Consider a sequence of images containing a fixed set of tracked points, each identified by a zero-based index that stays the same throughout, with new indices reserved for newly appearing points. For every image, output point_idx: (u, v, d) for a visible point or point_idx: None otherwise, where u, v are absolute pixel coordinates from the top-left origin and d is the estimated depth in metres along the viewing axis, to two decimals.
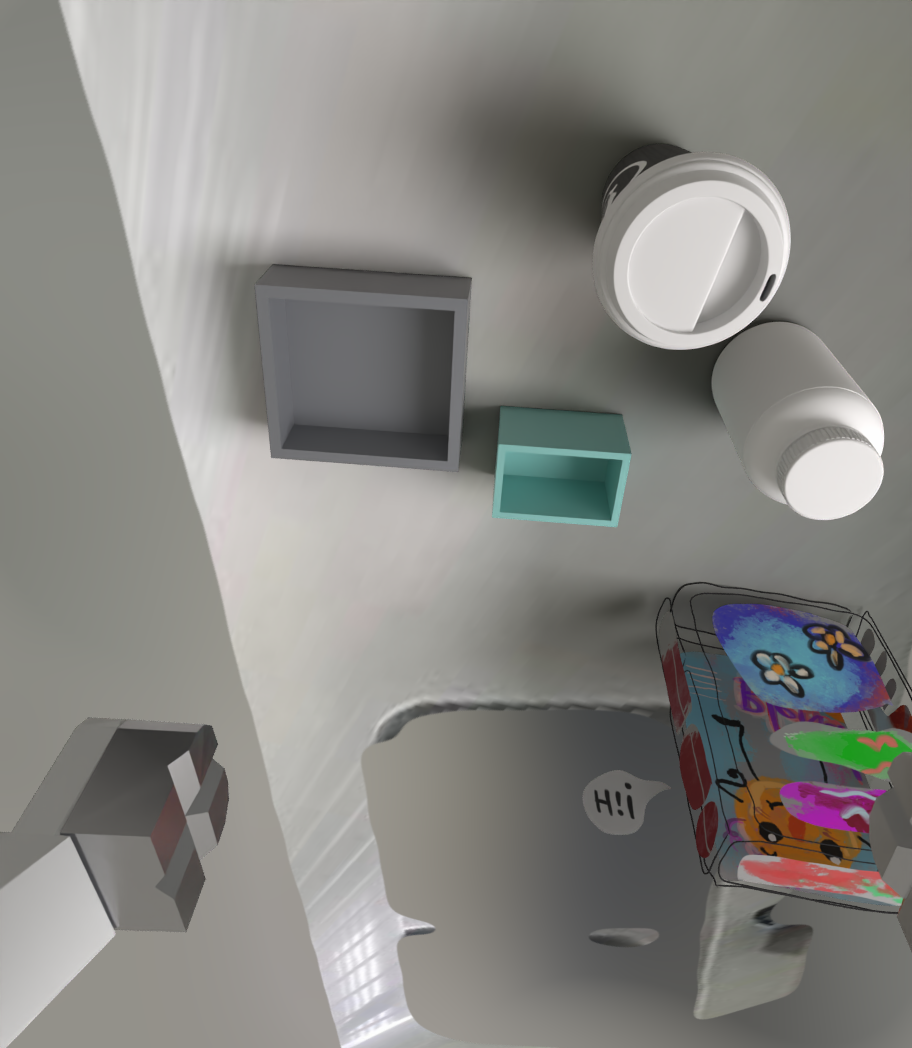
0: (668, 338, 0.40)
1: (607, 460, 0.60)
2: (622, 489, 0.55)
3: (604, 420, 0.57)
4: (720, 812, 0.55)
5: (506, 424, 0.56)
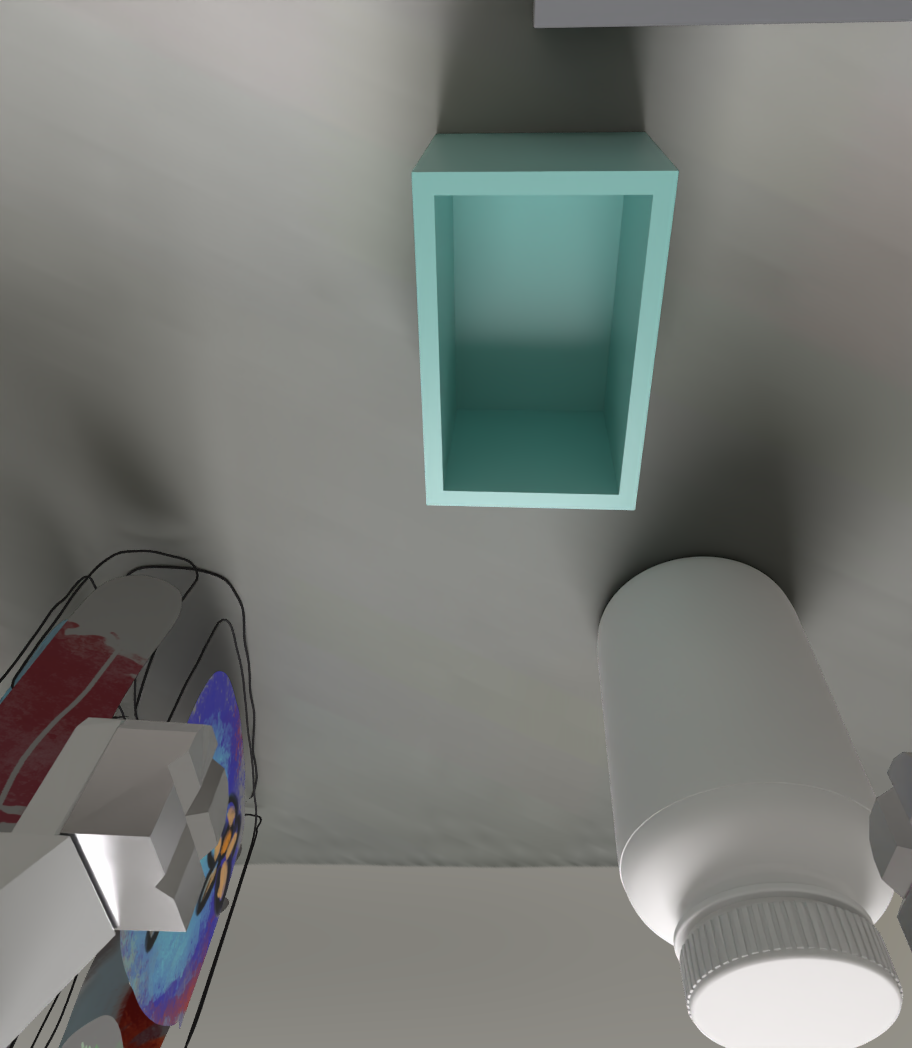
0: None
1: (512, 408, 0.27)
2: (535, 503, 0.23)
3: None
4: None
5: None
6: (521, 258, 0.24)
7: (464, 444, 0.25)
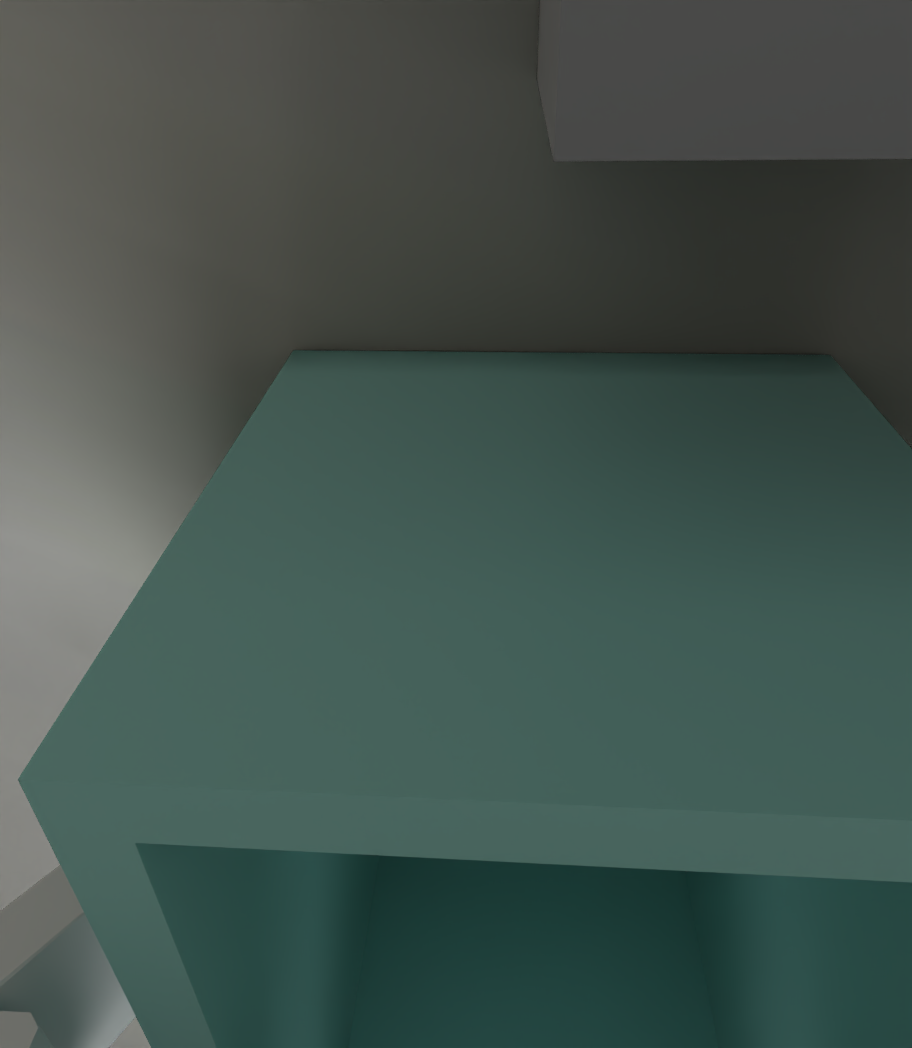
0: None
1: None
2: None
3: None
4: None
5: None
6: None
7: (384, 1010, 0.11)
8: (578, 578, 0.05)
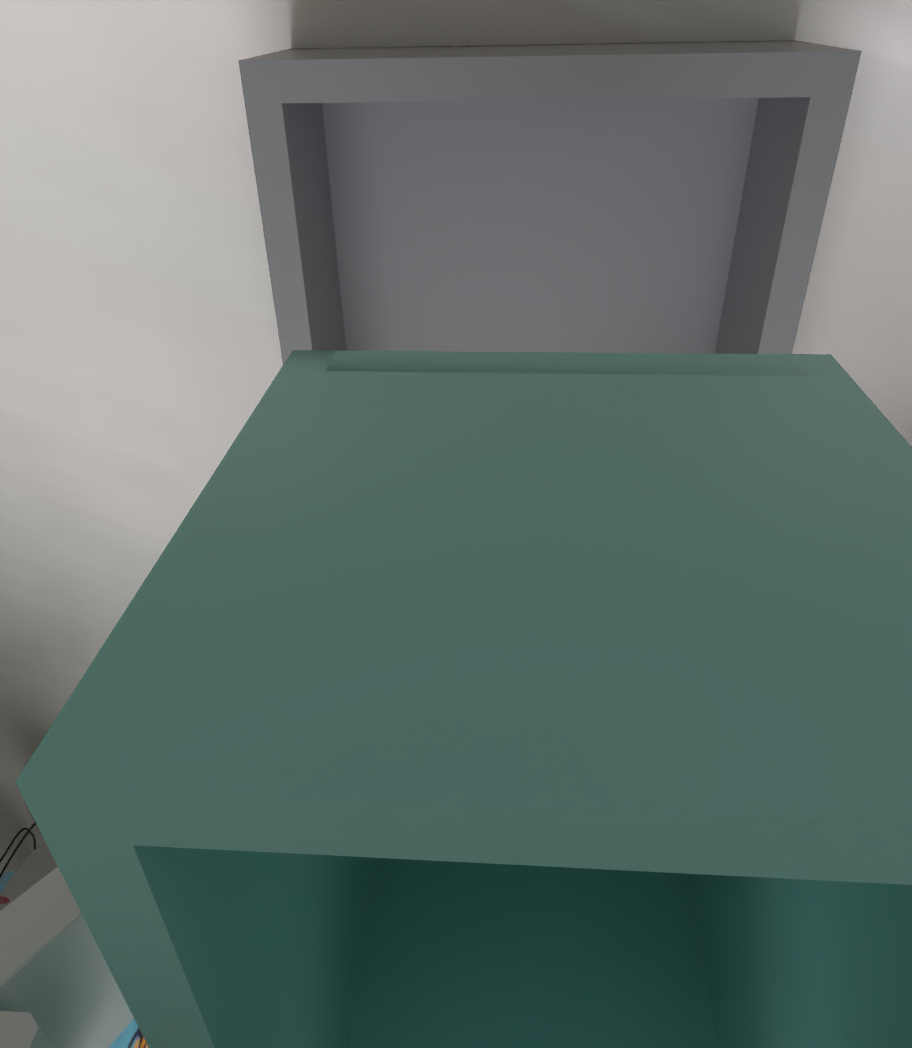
0: None
1: None
2: None
3: None
4: None
5: None
6: None
7: (384, 1012, 0.11)
8: (578, 579, 0.05)
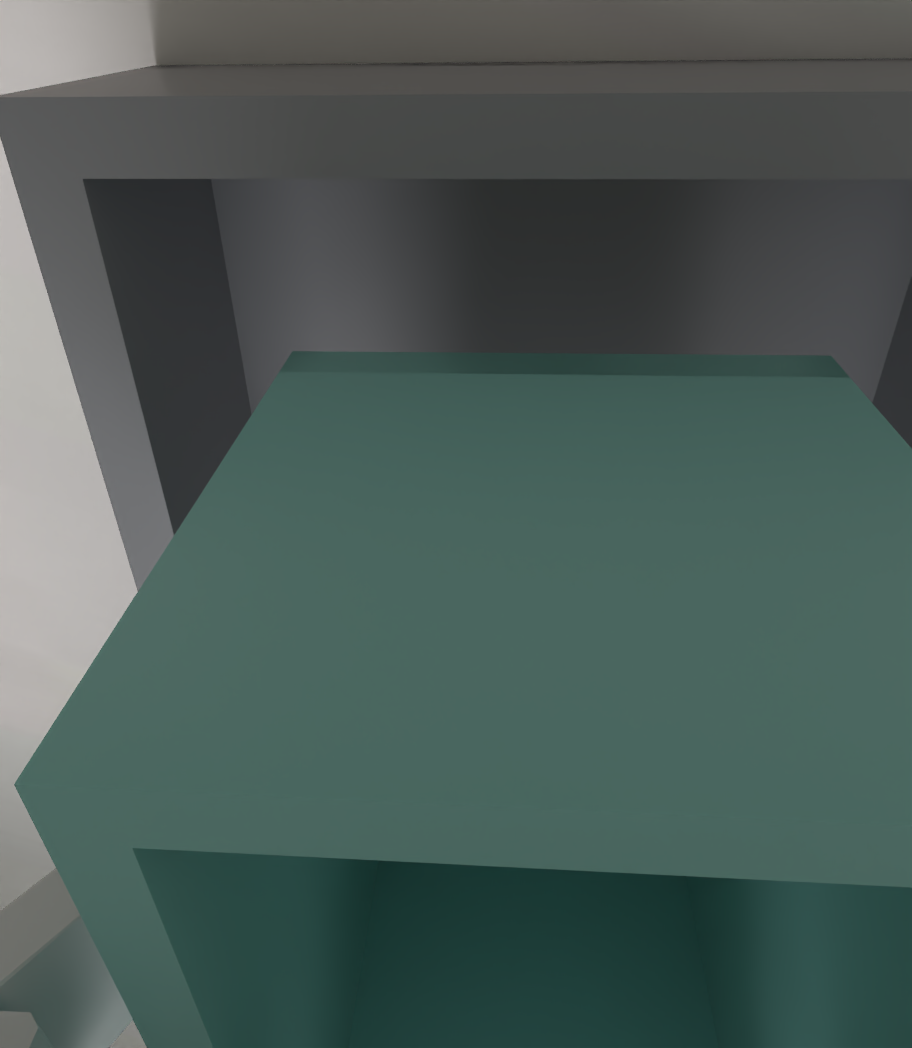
0: None
1: None
2: None
3: None
4: None
5: None
6: None
7: (384, 1013, 0.11)
8: (578, 581, 0.05)
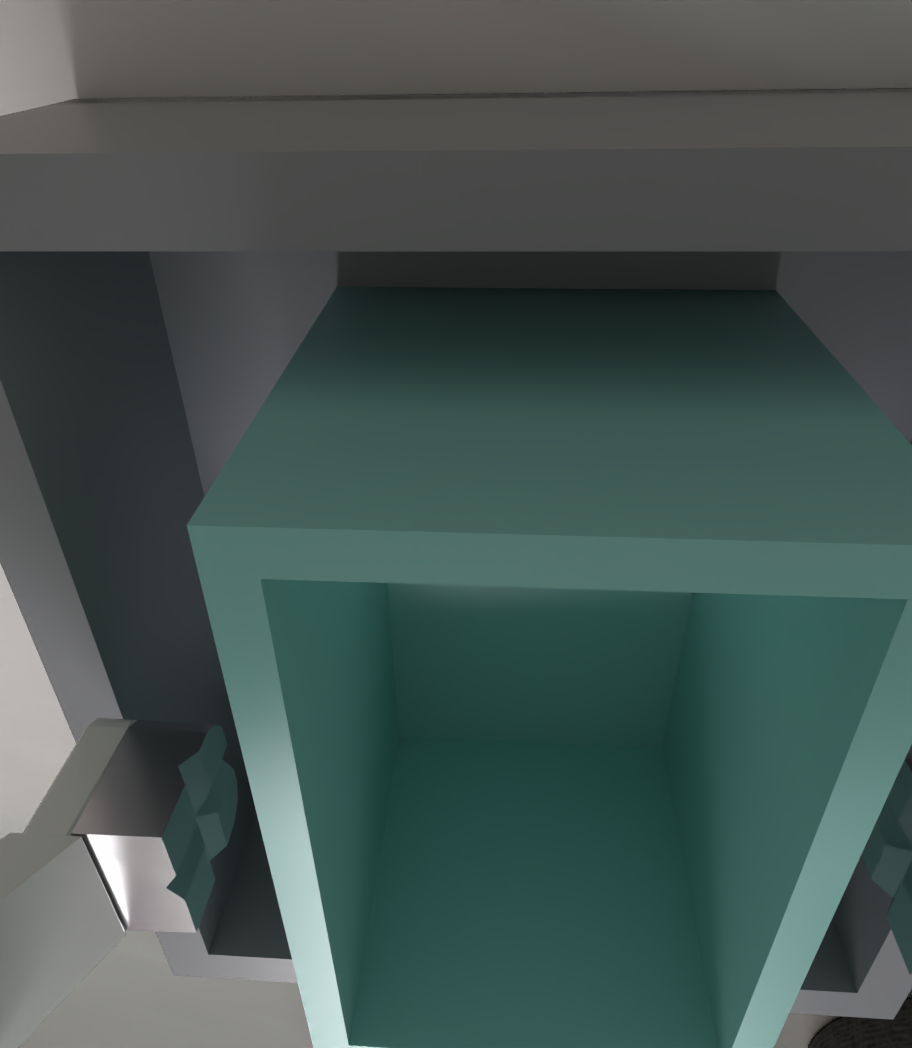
0: None
1: (498, 738, 0.15)
2: None
3: None
4: None
5: None
6: None
7: (405, 857, 0.13)
8: (567, 424, 0.07)
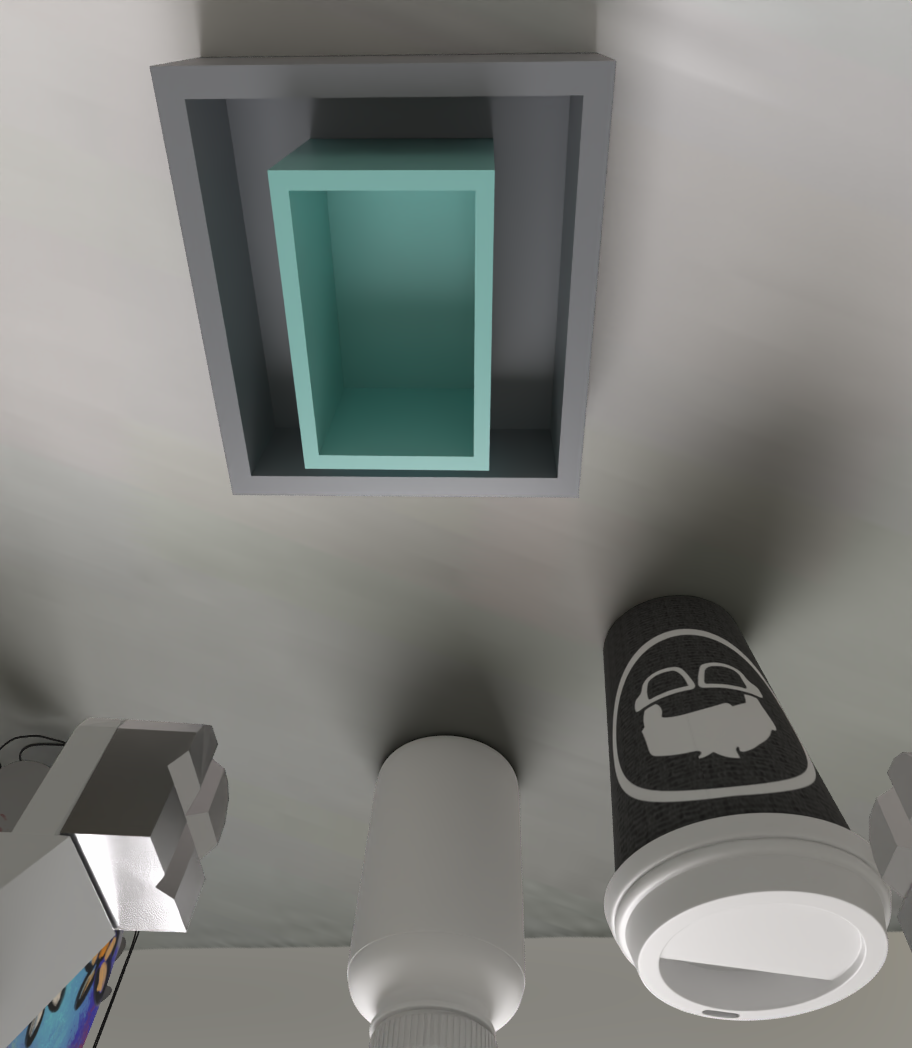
0: (654, 947, 0.25)
1: (394, 386, 0.30)
2: (401, 465, 0.26)
3: None
4: None
5: None
6: (391, 250, 0.27)
7: (345, 417, 0.28)
8: (387, 159, 0.22)
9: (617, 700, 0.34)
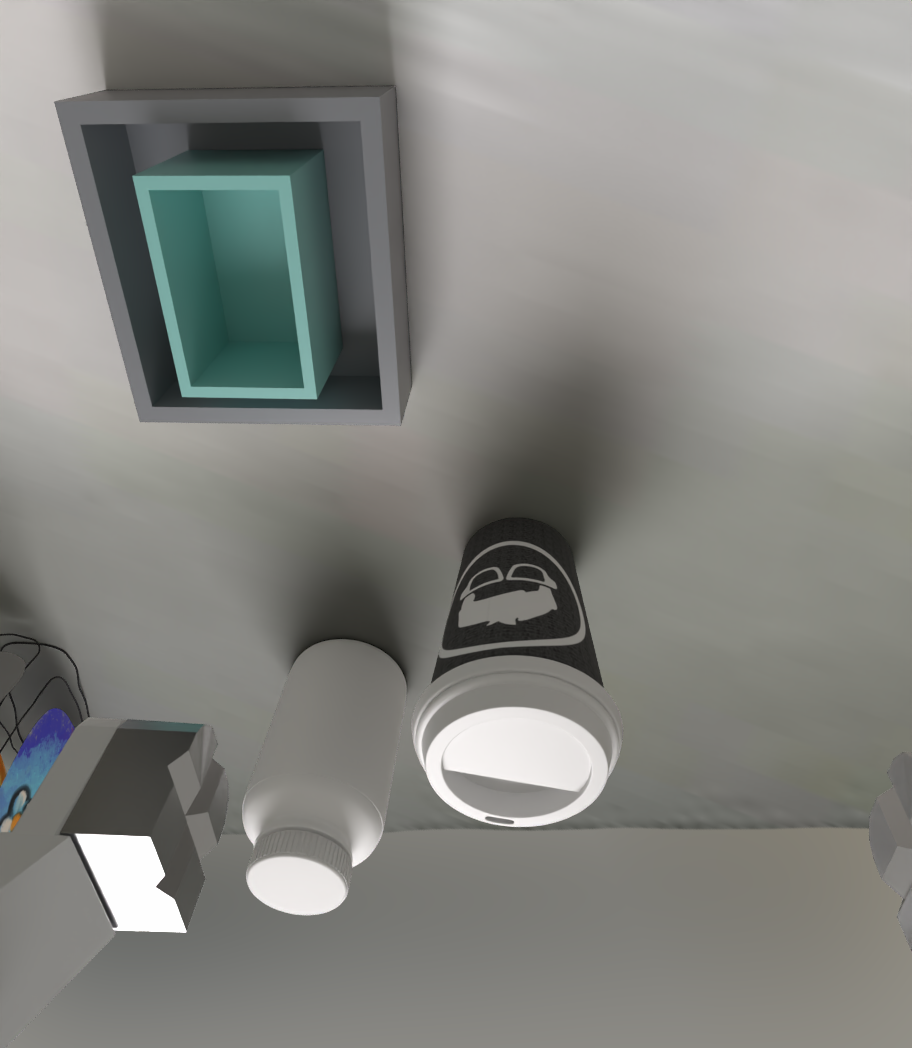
0: (434, 757, 0.34)
1: (267, 340, 0.39)
2: (252, 395, 0.34)
3: (335, 329, 0.37)
4: None
5: (309, 174, 0.32)
6: (254, 234, 0.36)
7: (221, 361, 0.37)
8: (225, 166, 0.31)
9: (454, 595, 0.42)
